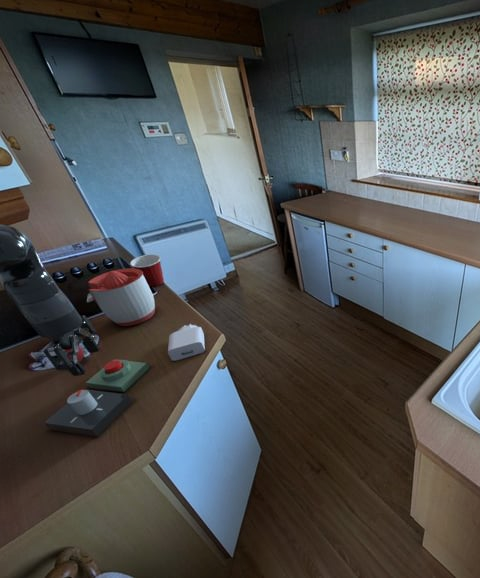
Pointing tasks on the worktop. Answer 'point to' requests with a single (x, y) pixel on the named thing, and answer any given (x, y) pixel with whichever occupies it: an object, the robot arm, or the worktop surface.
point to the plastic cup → (149, 268)
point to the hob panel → (90, 415)
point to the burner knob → (82, 402)
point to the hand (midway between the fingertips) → (88, 362)
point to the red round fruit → (79, 355)
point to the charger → (186, 342)
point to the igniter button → (113, 366)
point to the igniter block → (118, 377)
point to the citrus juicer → (123, 296)
